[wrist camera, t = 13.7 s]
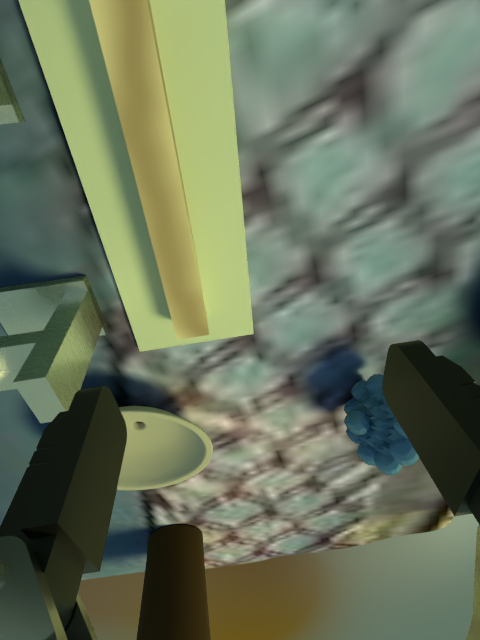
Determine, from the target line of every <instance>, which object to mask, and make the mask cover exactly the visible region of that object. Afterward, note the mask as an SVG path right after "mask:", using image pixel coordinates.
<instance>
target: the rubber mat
mask: <svg viewBox="0 0 480 640" xmlns="http://www.w3.org/2000/svg"><path fill="white" fill-rule="evenodd" d="M19 3H20V6H21V9H22V12H23V15H24V18H25V21H26V24H27V26H28V29H29V32H30V35H31V38H32V41H33V44H34V47H35V50H36V52H37V55H38V58H39V61H40V64H41V67H42V70H43V73H44V76H45V78H46V81H47V84H48V87H49V90H50V93H51V96H52V99H53V102H54V105H55V107H56V110H57V113H58V116H59V119H60V122H61V125H62V128H63V131H64V133H65V136H66V139H67V142H68V145H69V148H70V151H71V154H72V157H73V159H74V162H75V165H76V168H77V171H78V174H79V177H80V180H81V183H82V185H83V188H84V191H85V194H86V197H87V200H88V203H89V206H90V209H91V211H92V214H93V217H94V220H95V223H96V226H97V229H98V232H99V235H100V238H101V240H102V243H103V246H104V249H105V252H106V255H107V258H108V261H109V264H110V266H111V269H112V272H113V275H114V278H115V281H116V284H117V287H118V290H119V292H120V295H121V298H122V301H123V304H124V307H125V310H126V313H127V316H128V318H129V321H130V324H131V327H132V330H133V333H134V336H135V339H136V342H137V345H138V347H139V350H140V351H146V350H153V349H159V348H166V347H172V346H178V345H185V344H191V343H198V342H204V341H211V340H217V339H224V338H230V337H236V336H243V335H249V334H253V322H252V310H251V299H250V287H249V276H248V264H247V253H246V241H245V229H244V218H243V206H242V195H241V183H240V172H239V160H238V148H237V137H236V125H235V114H234V102H233V91H232V79H231V67H230V56H229V44H228V33H227V21H226V10H225V0H150V5H151V10H152V16H153V21H154V27H155V32H156V38H157V43H158V49H159V54H160V60H161V65H162V71H163V76H164V82H165V87H166V93H167V98H168V104H169V109H170V115H171V120H172V126H173V131H174V137H175V142H176V148H177V153H178V159H179V164H180V169H181V175H182V180H183V186H184V191H185V197H186V202H187V208H188V213H189V219H190V224H191V230H192V235H193V241H194V246H195V252H196V257H197V263H198V268H199V274H200V279H201V285H202V290H203V296H204V301H205V307H206V312H207V318H208V329H209V335H204V336H198V337H192V338H185V339H179V340H177V338H176V335H175V331H174V327H173V323H172V319H171V315H170V311H169V308H168V304H167V300H166V296H165V292H164V288H163V284H162V280H161V277H160V273H159V269H158V265H157V261H156V257H155V253H154V249H153V246H152V242H151V238H150V234H149V230H148V226H147V222H146V219H145V215H144V211H143V207H142V203H141V199H140V195H139V191H138V188H137V184H136V180H135V176H134V172H133V168H132V164H131V161H130V157H129V153H128V149H127V145H126V141H125V137H124V133H123V130H122V126H121V122H120V118H119V114H118V110H117V106H116V103H115V99H114V95H113V91H112V87H111V83H110V79H109V75H108V72H107V68H106V64H105V60H104V56H103V52H102V48H101V45H100V41H99V37H98V33H97V29H96V25H95V21H94V17H93V14H92V10H91V6H90V2H89V0H19Z"/></svg>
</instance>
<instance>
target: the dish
mask: <svg viewBox="0 0 480 640" xmlns="http://www.w3.org/2000/svg"><path fill="white" fill-rule="evenodd" d="M119 409H120V411H121V413H122V416H123V418H124V420H125V423H126V428H127V442H126V447H125V452H124V457H123V461H122V466H121V471H120V476H119V481H118V485H117V490H145V489H154V488H160V487H164V486H169V485H172V484H176V483H179V482H181V481H184V480H186V479H188V478H190V477H192V476H194V475H196V474H197V473H199V472H200V471H201V470H203V469H204V468H205V467H206V465H207V464H208V463H209V461H210V460H211V457H212V453H213V446H212V442H211V440H210V438H209V437H208V435H207V434H206V433H205V432H204V431H203V430H202V429H201V428H200V427H198V426H197V425H195V424H193V423H192V422H190V421H188V420H185V419H183V418H181V417H179V416H177V415H175V414H173V413H170V412H168V411H165V410H161V409H157V408H152V407H145V406H125V407H119ZM137 422H142V423H137Z"/></svg>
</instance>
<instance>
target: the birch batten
mask: <svg viewBox="0 0 480 640" xmlns="http://www.w3.org/2000/svg"><path fill="white" fill-rule="evenodd" d="M89 2H90V6H91V10H92V14H93V17H94V21H95V25H96V29H97V33H98V37H99V41H100V45H101V48H102V52H103V56H104V60H105V64H106V68H107V72H108V75H109V79H110V83H111V87H112V91H113V95H114V99H115V103H116V106H117V110H118V114H119V118H120V122H121V126H122V130H123V133H124V137H125V141H126V145H127V149H128V153H129V157H130V161H131V164H132V168H133V172H134V176H135V180H136V184H137V188H138V191H139V195H140V199H141V203H142V207H143V211H144V215H145V219H146V222H147V226H148V230H149V234H150V238H151V242H152V246H153V249H154V253H155V257H156V261H157V265H158V269H159V273H160V277H161V280H162V284H163V288H164V292H165V296H166V300H167V304H168V308H169V311H170V315H171V319H172V323H173V327H174V331H175V335H176V338H177V340H179V339H185V338H192V337H198V336H204V335H209V329H208V318H207V312H206V307H205V301H204V296H203V290H202V285H201V279H200V274H199V268H198V263H197V257H196V252H195V246H194V241H193V235H192V230H191V224H190V219H189V213H188V208H187V202H186V197H185V191H184V186H183V180H182V175H181V169H180V164H179V159H178V153H177V148H176V142H175V137H174V131H173V126H172V120H171V115H170V109H169V104H168V98H167V93H166V87H165V82H164V76H163V71H162V65H161V60H160V54H159V49H158V43H157V38H156V32H155V27H154V21H153V16H152V10H151V5H150V0H89Z"/></svg>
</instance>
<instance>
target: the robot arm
mask: <svg viewBox="0 0 480 640" xmlns="http://www.w3.org/2000/svg"><path fill="white" fill-rule="evenodd" d="M382 389H383V394H384V398H385V400H386V402H387V404H388V406H389V408H390V409H391V411H392V413H393V414H394V416H395V418H396V419H397V421H398V423H399V424H400V426H401V428H402V429H403V431H404V433H405V434H406V436H407V438H408V439H409V441H410V443H411V444H412V446H413V448H414V449H415V451H416V453H417V454H418V456H419V458H420V459H421V461H422V463H423V464H424V466H425V468H426V469H427V471H428V473H429V474H430V476H431V478H432V479H433V481H434V483H435V484H436V486H437V488H438V489H439V491H440V493H441V494H442V496H443V498H444V499H445V501H446V503H447V504H448V506H449V508H450V509H451V511H452V513H453V514H454V516H459V515H465V514H473V515H474V517H475V518H476V520H477V521H478V523H479V527H478V530H477V543H476V561H475V580H474V599H473V614H472V621H471V626H470V629H469V632H468V635H467V638H466V640H480V386H479V385H476V382H475V380H474V379H473V378H472V377H471V376H470V375H469V374H468V373H467V372H466V371H465V370H464V369H463V368H462V367H461V366H459V365H457V364H456V363H454V362H452V361H451V360H449V359H447V358H446V357H444V356H437V357H436V356H435V355H434V354H433V353H432V352H431V350H430V349H429V348H428V347H427V346H426V345H425V344H424V343H423V342H422V341H419V340H417V341H410V342H404V343H397V344H392V345H390V347H389V349H388V354H387V360H386V365H385V370H384V376H383V381H382ZM126 442H127V428H126V423H125V420H124V418H123V416H122V413H121V411H120V409H119V407H118V405H117V403H116V401H115V398H114V396H113V394H112V392H111V390H110V389H109V387H107V386H102V387H96V388H89V389H82V390H78V391H77V392H76V393H75V395H74V398H73V400H72V402H71V405H70V407H69V410H68V411H64V412H60V413H59V414H58V415H57V416H56V417H55V418H54V419H53V420H52V422H51V423H50V424H49V425H48V426H47V427H46V428H45V430H44V432H43V434H42V437H41V439H40V441H39V443H38V445H37V451H35V452H34V454H33V456H32V458H31V461H30V463H29V464H30V466H29V467H27V469H26V472H25V474H24V476H23V478H22V480H21V482H20V485H19V487H18V489H17V491H16V493H15V496H14V498H13V500H12V502H11V504H10V507H9V509H8V511H7V513H6V515H5V517H4V520H3V522H2V524H1V526H0V640H98V638H97V636H96V633H95V631H94V628H93V626H92V624H91V621H90V619H89V617H88V614H87V612H86V609H85V607H84V605H83V602H82V600H81V597H80V595H79V594H78V590H79V586H80V581H81V577H82V574H85V573H91V572H98V571H100V567H101V562H102V557H103V553H104V548H105V543H106V538H107V533H108V529H109V524H110V519H111V514H112V509H113V505H114V500H115V495H116V490H117V485H118V481H119V476H120V471H121V466H122V461H123V457H124V452H125V447H126Z"/></svg>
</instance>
